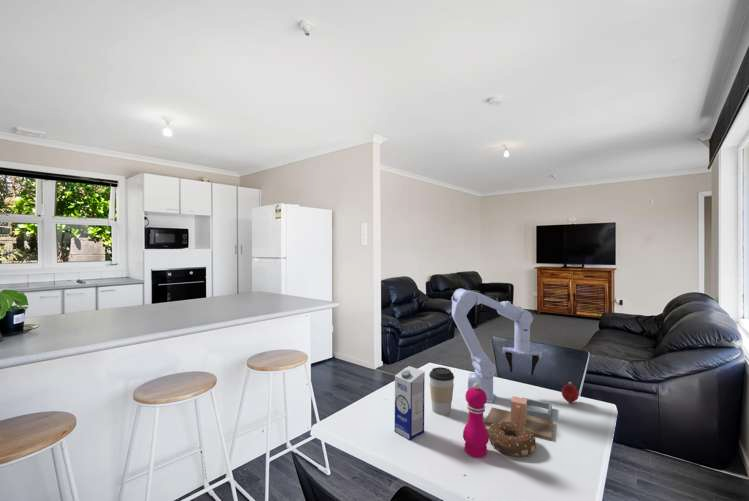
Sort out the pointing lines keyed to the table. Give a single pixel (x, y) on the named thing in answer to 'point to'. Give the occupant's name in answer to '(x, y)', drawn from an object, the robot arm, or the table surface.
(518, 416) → the peach cube with handle
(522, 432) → the donut
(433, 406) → the coffee cup
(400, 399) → the milk carton
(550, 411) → the collar
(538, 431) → the board
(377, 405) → the table surface
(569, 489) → the table surface
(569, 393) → the onion
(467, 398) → the pepper mill
